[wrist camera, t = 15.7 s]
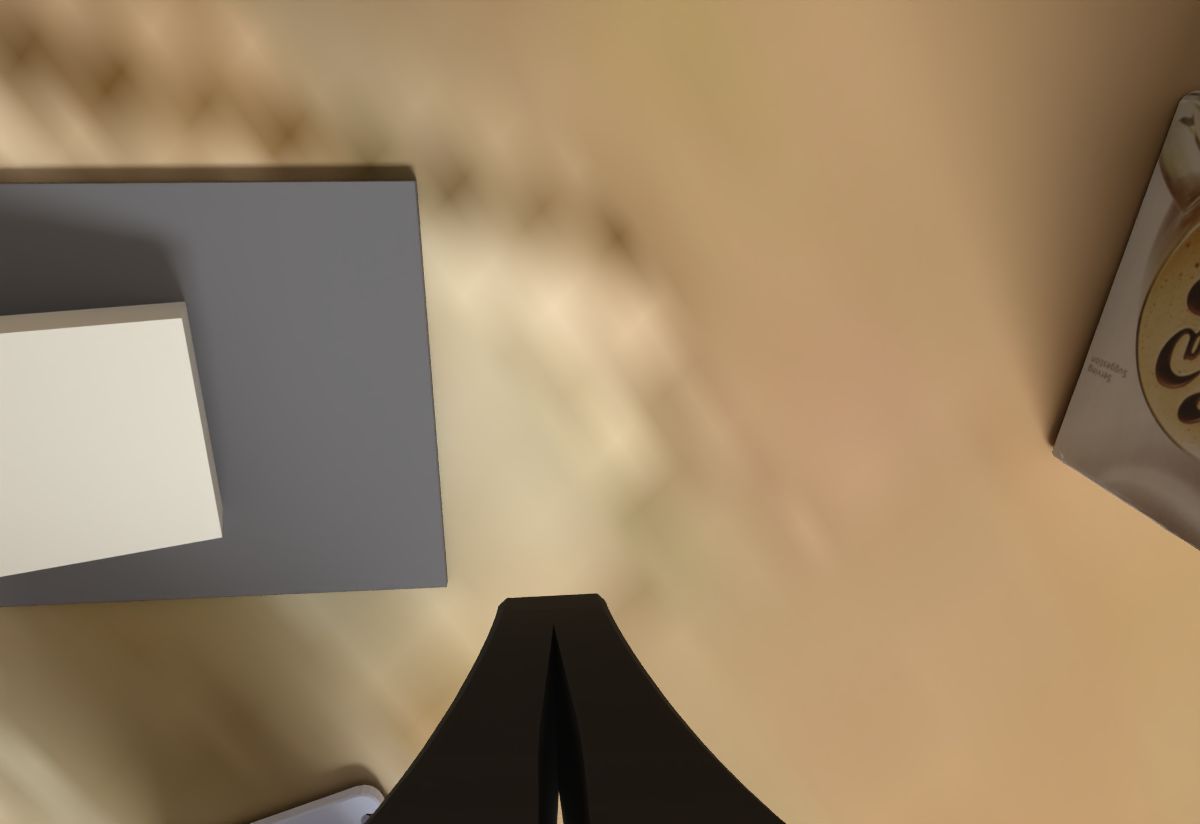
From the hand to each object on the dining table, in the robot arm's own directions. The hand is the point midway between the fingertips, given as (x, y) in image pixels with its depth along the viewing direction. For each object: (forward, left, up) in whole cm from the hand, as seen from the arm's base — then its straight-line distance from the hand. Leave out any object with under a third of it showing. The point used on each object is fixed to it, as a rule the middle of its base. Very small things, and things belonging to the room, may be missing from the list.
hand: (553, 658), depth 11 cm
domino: (+3, +7, -8) cm, 11 cm away
